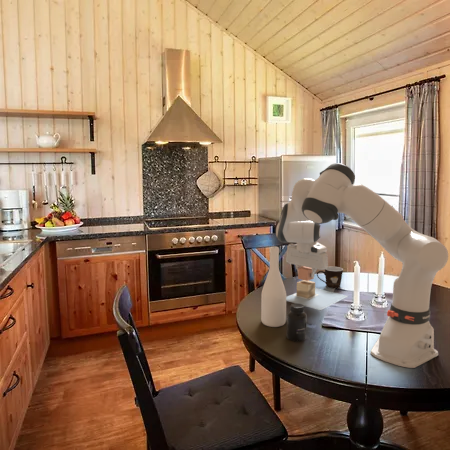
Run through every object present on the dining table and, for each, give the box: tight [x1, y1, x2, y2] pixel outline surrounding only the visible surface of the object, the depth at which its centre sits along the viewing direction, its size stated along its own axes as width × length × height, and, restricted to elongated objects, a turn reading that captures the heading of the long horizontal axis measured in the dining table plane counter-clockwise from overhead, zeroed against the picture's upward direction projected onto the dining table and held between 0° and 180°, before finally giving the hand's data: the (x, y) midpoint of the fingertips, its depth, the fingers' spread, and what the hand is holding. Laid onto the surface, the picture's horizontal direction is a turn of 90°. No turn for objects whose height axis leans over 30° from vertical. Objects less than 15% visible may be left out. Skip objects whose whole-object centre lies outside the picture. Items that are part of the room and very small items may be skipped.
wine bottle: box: [260, 245, 287, 328], centre depth 153 cm, size 10×10×30 cm
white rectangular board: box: [286, 287, 349, 311], centre depth 180 cm, size 24×20×1 cm
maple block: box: [296, 280, 316, 298], centre depth 182 cm, size 6×6×6 cm
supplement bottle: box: [286, 303, 308, 342], centre depth 141 cm, size 7×7×12 cm
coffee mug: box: [316, 265, 344, 289], centre depth 196 cm, size 12×9×10 cm
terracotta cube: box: [297, 266, 315, 281], centre depth 181 cm, size 5×5×5 cm
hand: (305, 275), depth 181 cm, fingers closed on terracotta cube, 5 cm apart
